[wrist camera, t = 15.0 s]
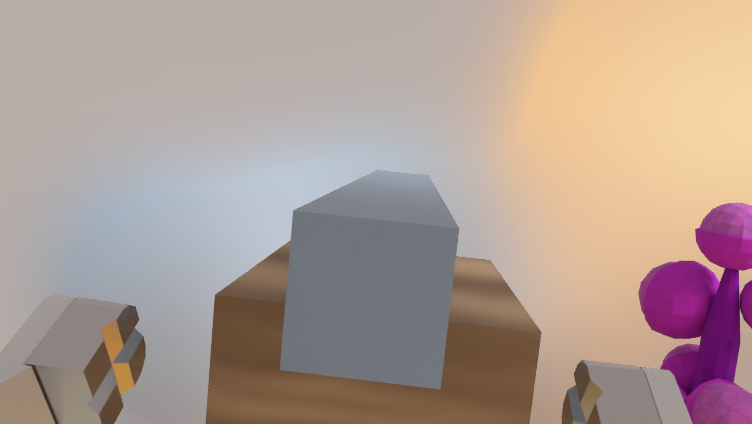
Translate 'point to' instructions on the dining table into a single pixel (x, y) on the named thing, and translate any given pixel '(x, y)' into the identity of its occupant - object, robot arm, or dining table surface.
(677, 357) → the decorative plant
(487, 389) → the tower
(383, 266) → the beam
